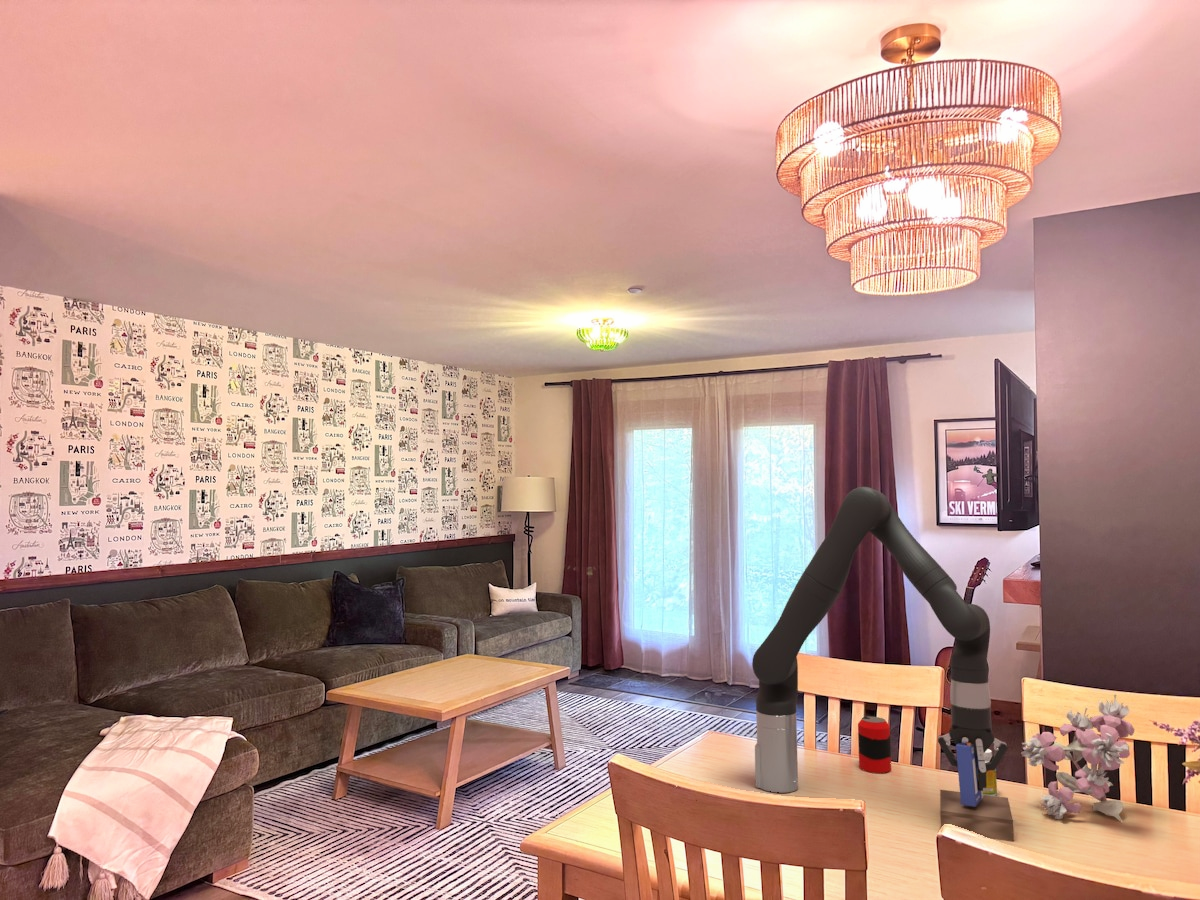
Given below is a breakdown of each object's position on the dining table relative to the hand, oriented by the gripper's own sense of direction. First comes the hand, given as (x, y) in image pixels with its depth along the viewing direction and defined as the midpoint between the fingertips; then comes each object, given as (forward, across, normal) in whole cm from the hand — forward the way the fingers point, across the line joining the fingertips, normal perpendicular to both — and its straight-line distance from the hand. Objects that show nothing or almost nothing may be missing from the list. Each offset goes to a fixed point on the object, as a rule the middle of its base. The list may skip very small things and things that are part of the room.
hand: (973, 788), depth 163 cm
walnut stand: (+7, 0, 0) cm, 7 cm away
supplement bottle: (+7, -3, -20) cm, 21 cm away
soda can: (+7, +21, -29) cm, 37 cm away
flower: (+7, -21, -13) cm, 25 cm away
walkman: (+3, 0, 0) cm, 3 cm away
